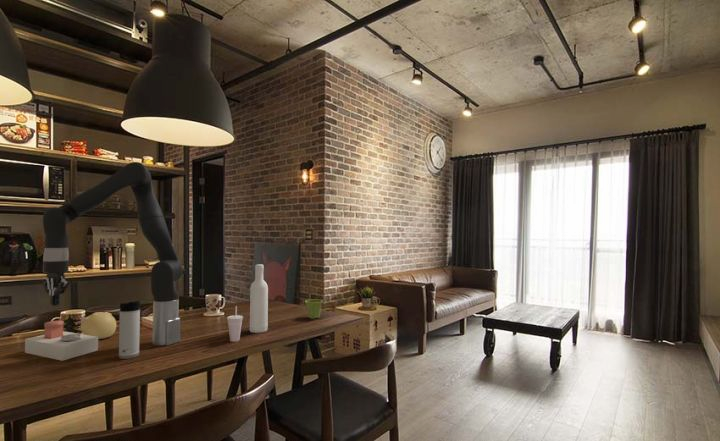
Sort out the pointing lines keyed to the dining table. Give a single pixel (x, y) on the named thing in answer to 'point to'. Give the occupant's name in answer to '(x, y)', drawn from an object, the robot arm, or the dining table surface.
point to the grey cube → (70, 337)
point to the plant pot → (314, 308)
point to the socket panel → (61, 346)
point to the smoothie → (234, 326)
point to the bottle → (259, 302)
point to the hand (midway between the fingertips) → (54, 305)
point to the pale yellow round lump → (99, 325)
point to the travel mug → (129, 330)
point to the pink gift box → (53, 329)
